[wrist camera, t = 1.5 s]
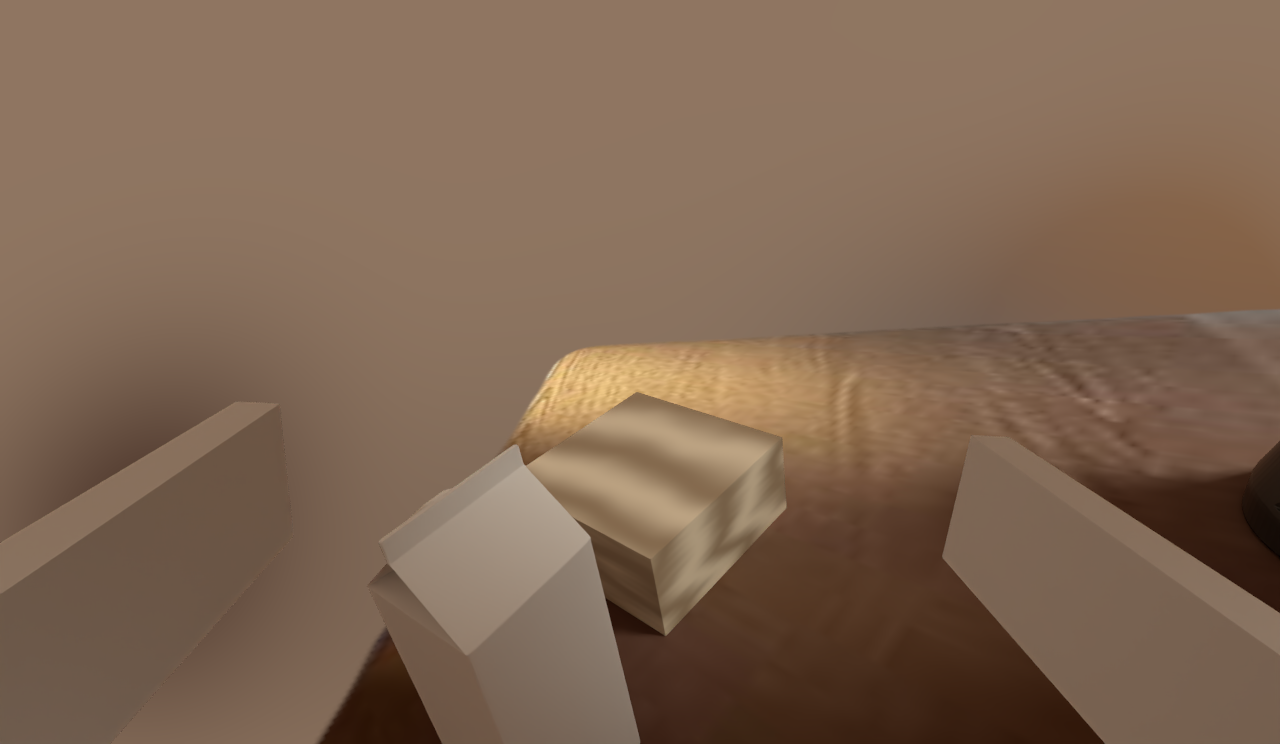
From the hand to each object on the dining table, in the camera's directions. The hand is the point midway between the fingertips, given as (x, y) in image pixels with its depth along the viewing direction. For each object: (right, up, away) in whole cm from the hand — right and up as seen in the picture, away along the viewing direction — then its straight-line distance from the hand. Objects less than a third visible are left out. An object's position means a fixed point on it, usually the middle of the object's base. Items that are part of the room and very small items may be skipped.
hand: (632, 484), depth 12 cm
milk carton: (-5, -20, +22) cm, 30 cm away
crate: (+1, -11, +38) cm, 40 cm away
